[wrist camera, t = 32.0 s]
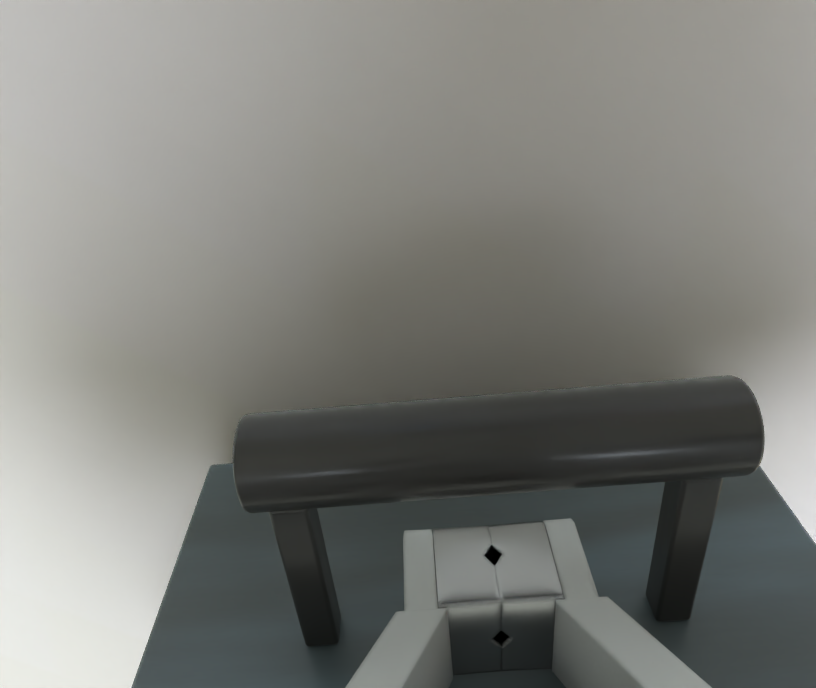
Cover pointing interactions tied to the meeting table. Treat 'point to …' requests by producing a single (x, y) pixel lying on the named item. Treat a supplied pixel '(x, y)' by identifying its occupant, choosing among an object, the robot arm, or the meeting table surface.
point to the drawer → (488, 505)
